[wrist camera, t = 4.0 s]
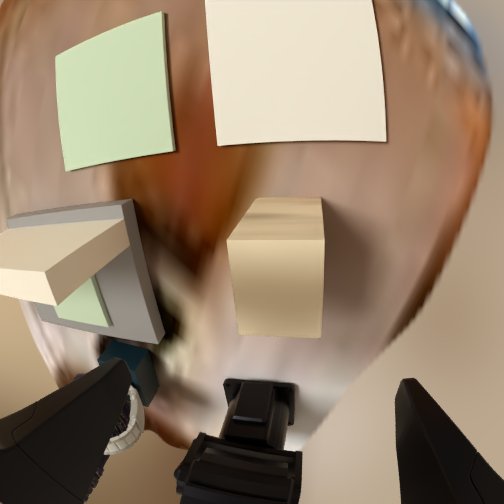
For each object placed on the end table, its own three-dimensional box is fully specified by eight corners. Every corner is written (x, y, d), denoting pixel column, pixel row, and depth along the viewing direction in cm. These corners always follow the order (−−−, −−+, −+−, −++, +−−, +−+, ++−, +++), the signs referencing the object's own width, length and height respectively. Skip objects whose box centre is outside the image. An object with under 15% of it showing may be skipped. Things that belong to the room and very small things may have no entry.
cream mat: (384, 141, 16) (386, 141, 15) (219, 145, 18) (217, 146, 18) (368, -9, 12) (369, -11, 11) (207, 1, 14) (205, -1, 13)
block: (320, 269, 20) (320, 338, 14) (262, 269, 21) (239, 334, 15) (320, 196, 18) (324, 240, 12) (256, 197, 19) (226, 240, 13)
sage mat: (175, 150, 18) (173, 151, 18) (69, 170, 21) (65, 171, 20) (164, 12, 14) (161, 11, 14) (58, 56, 17) (55, 56, 16)
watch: (98, 336, 28) (38, 408, 18) (164, 353, 27) (110, 445, 17) (112, 372, 30) (64, 442, 20) (174, 390, 29) (132, 474, 19)
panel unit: (165, 333, 25) (113, 414, 17) (49, 313, 29) (-2, 363, 20) (132, 198, 20) (38, 253, 12) (15, 214, 24) (-53, 252, 15)
